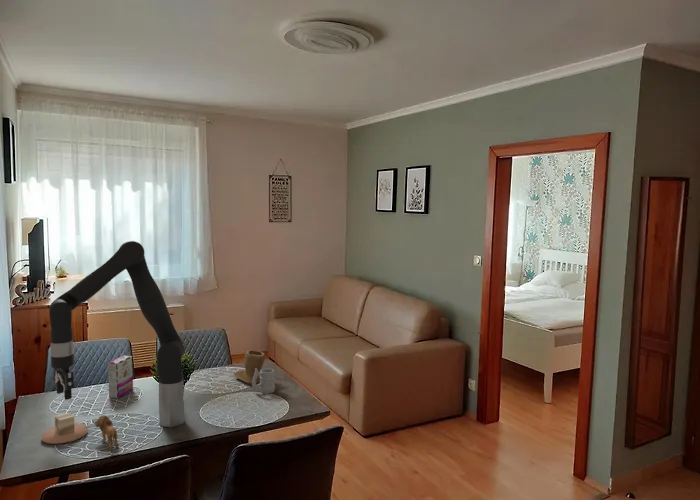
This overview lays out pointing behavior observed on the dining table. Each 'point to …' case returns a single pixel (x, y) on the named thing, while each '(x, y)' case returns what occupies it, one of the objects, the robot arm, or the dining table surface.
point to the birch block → (64, 424)
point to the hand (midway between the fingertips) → (64, 395)
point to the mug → (264, 380)
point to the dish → (54, 438)
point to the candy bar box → (120, 376)
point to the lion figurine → (107, 430)
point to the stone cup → (251, 366)
